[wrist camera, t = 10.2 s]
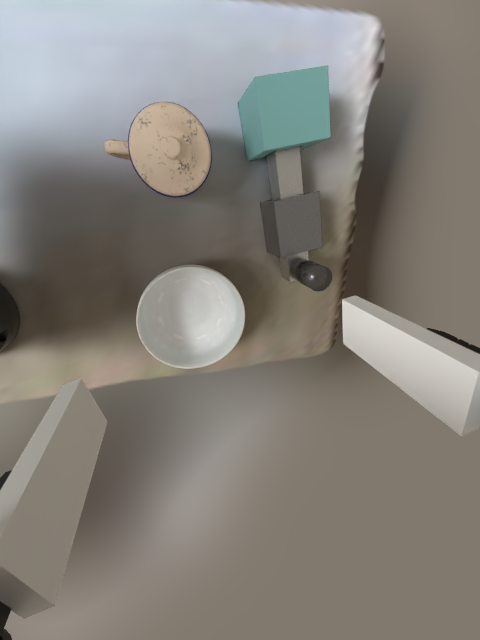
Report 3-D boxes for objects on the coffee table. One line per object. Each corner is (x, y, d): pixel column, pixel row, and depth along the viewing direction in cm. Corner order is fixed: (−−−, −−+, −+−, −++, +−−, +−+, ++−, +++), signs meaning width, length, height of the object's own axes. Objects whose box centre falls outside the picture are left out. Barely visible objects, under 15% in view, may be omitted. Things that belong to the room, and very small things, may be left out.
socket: (247, 161, 39) (264, 150, 32) (237, 103, 36) (254, 77, 28) (301, 149, 40) (330, 137, 33) (297, 92, 37) (328, 65, 30)
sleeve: (267, 251, 45) (281, 258, 39) (259, 202, 41) (273, 201, 36) (303, 242, 46) (322, 247, 40) (299, 193, 42) (319, 191, 37)
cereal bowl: (233, 345, 51) (242, 365, 45) (144, 351, 47) (141, 374, 40) (238, 258, 44) (249, 267, 38) (135, 257, 40) (129, 266, 34)
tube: (282, 276, 46) (310, 294, 37) (262, 123, 36) (293, 95, 27) (300, 271, 47) (332, 287, 38) (285, 119, 37) (324, 90, 28)
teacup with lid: (204, 131, 36) (218, 100, 26) (201, 202, 39) (213, 200, 29) (110, 113, 33) (83, 71, 22) (116, 192, 36) (95, 187, 26)
